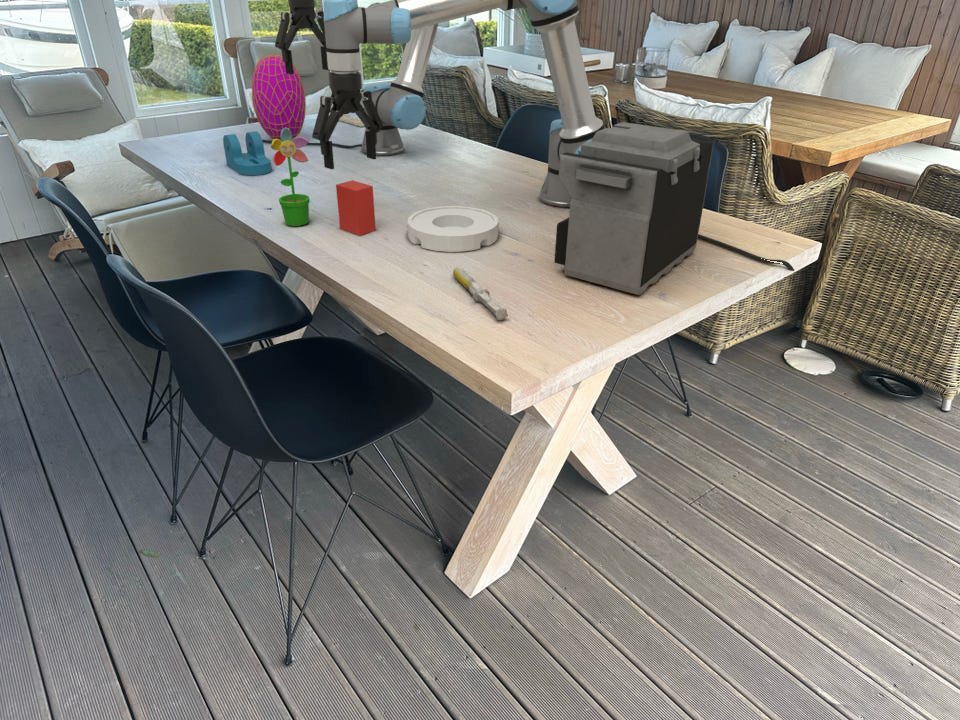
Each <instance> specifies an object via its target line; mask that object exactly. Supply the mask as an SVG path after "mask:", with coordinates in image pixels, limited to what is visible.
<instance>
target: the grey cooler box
mask: <svg viewBox="0 0 960 720" xmlns="http://www.w3.org/2000/svg"><path fill="white" fill-rule="evenodd" d="M714 145H715V141H714V140H708V139H701V138H694V137H691V136H690V133H689V131H687V130H681V129H673V128H667V127H661V126H660V127H659V126H652V125H645V124H638V123H631V122H627V121H626V122H625V121H621V122H619V123H616V124H614V125H613V126H612V127H610V128H609V127H604V129H602V130H600V131H597V132H596V134H595V135H594V137H593V138H592V140H591V141H589V142H586V143H584V144H582V145H581V154H580V155H579V154H573V153H568V152H566V153H563V154H561V155H560V165H559V178H560V180H561V181H562V183H563V185H564V186H565V188H566V190H567V191H568V193H569V195H570V196H571V198H572V199H571V202H570V207H569V211H568V212H569V213H568V217H566V218H565V219H563V220H561V221H559V222H558V223H557V224H556V231H555V247H554V263H555V264H558V265H561V266H564V270H563V271H564V274H565V275H566V276H569V277H572V278H575V279H579V280H583V281H586V282H589V283H594V284H597V285H600V286H605V287H609V288H612V289H615V290H619V291H622V292H626V293H629V294H633V295H636V296H637V295H639V296H640V295H642V294H644V293H645V292H646V290H647V289H648V287H649V286H650V285H654V284H656V283H657V282H659V279H660V278H661V276H662V275H663V276H665V275H667V274H669V273H670V272H671V270H672V269H673V267H674V266H678V265H679V264H680V263H682V262H683V260H684V258H685V257H689V256H690V255H692V254H693V252H694V251H695V249H696V247H697V243H698V239H699V238H698V234H700V233H699V231H700V226H701V221H702V216H703V209H704V206H705V205H704V204H705V198H706V193H707V187H708V178H709V174H710V173H709V172H710V167H711V162H712V156H713V150H714Z"/></svg>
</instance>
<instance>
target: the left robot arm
mask: <svg viewBox="0 0 960 720" xmlns="http://www.w3.org/2000/svg"><path fill="white" fill-rule="evenodd" d="M288 7H289V10H290V11H289V12H286V11H281V12H280V23H279V27H278V31H277V35H276V38H275V42H274V47H275V48H277V49H279V50H280V51H281V56H282V58H283V62H285V67H286V73H287V74H294V71H293V65H294V63H293V55H292V50H291V49H290V47H291V46H292V43H293V41H294V39H295V37H296V35H297V33H298V31H300V30H305V29H310V30H311V32H312V33H313V34H314V36H315V37H316V39H318V42H320V44H321V45H322V46H320V56H321V69H322V70H324V71H330V70H329V69H328V62H327V49H326V38H325V28H324V10H316V11H315V8H316V0H288ZM315 20H316V21H315ZM290 21H291V22H290ZM439 24H440V23H438V24H434V25H430V26H426V27H422V28H418V29H415V30H411V39H410V41H409V42H408V43H405V47H404V51H403V54H402V57H401V61H400V65H399V69H398V73H397V76H396V78H395V79H393V80H392V81H390V83H378V84H377V83H376V84H369V85H365V86H363V87H362V90H366V91H370V92H371V95H372V101H373V103H374V106H375V108H376V110H377V113H378V115H379V117H380V119H381V122H382V124H383V127H382V128H379V129H380V131H379V132H377V144H376V157H378V156H379V157H384V156H393V155H399V154H401V153H403V152H404V151H405V148H404V147H405V146H404V143H403V140H402V137H401V134H400V131H399V130H406V131H409V130H413V129H415V128H418V127H419V126H420V125H421V124H422V123H423V122H424V119H425V117H426V113H427V106H426V105H425V104H426V103H425V101H424V96H425V91H424V89H423V83H424V80H425V75H426V72H427V68H428V65H429V61H430V57H431V55H432V54H431V53H432V50H433V45H434V43H435V40H436V39H435V38H436V35H437V31H438V28H439ZM363 108H364V111H365V112H366V113H367V111H366V109H365V106H364V105H363ZM367 115H368V113H367ZM368 116H369V115H368ZM364 127H365V130H364V132H365V131H369V130H368V129H367V128H366V126H364ZM262 141H263V143H265V144H266V143H267V144H272V141H273V140H269V139H268V140H267V139H262ZM305 146H320V142H309V143H307V144H306V145H305ZM332 147H338V148H344V149H355V148H361V152H362V153H363V154H366V155H367V151H366V134H365V133H364V134H363V137H362V143H359V144H353V145H352V144H351V145H347V144H341V143H335V142H332Z"/></svg>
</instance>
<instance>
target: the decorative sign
mask: <svg viewBox="0 0 960 720" xmlns="http://www.w3.org/2000/svg"><path fill="white" fill-rule="evenodd" d="M338 122H344V123H348V124H350V125H353V126H356V127H360V128H361V127H363V128H364V127H365V125H364V124H363V122H362V121H361V120H360V119H359V118H357V117H351V116H350V114H343V116H342V117H341V118H340V119H339V121H338Z"/></svg>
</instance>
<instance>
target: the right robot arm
mask: <svg viewBox="0 0 960 720" xmlns="http://www.w3.org/2000/svg"><path fill="white" fill-rule="evenodd" d="M322 2H323V3H322V4H323V5H322V7H323V8H322V9H323V10H322V11H323V12H324V28H325V38H326V49H327V62H328V69H329V70H328V71H329V72H328V87H329V89H330V91H331V93H330V94H331V95H330V96H325V95H321V96H320V98H319V109H318V113H317V116H316V120H315V123H314V127H313V130H312V134H311V138H312V139H314V140H318V141H319V143H320V145H319V146H320V154H321V155H322V156H323V164H324V168H325V169H329V170H334V169H335V163H334V162H335V159H334V152H333V151H334V150H333V149H334V148H333V146H332V143H333V141H332V140H330V139H331V137H332V135H333V133H334V131H335V129H336V127H337V125H338V123H339V122H340V121H339V119H340V118H341V117H342V116H343V114H345V115H350V114H355V115H356V116H357V117H358V120H361V121H362V122H363V124H364V125H365V126H366V128H367V129H368V130H369V131H365V130H364V134H366V151H367V154H366V158H367V159H370V160H377V156H376V144H377V132H379V131H380V129H379V128H382V127H383V124H382V122H381V119H380V117H379V115H378V113H377V110H376V108H375V106H374V103H373V101H372V95H371V92H370V91H366V90H363V84H362V74H361V72H360V70H362V68H361V52H360V44H361V45H362V44H363V45H366V44H373V45H374V44H375V45H377V44H379V45H388V44H389V45H396V46H397V45H400V44H401V45H402V44H406V43H408V42H409V41H410V39H411V30H415V29H418V28H422V27H426V26H430V25H434V24H438V23H439V24H442V23H446V22H450V21H453V20H458V19H461V18H465V17H469V16H473V15H477V14H482V13H484V12H490V11H493V10H497V9H500V10H502V11H503V12H507V11H511V10H516V9H527V13H528V16H529V20H530V21H529V22H530V25H531V28H533V29H535V30H536V31H538V33H539V34H540V39H541V43H542V47H543V51H544V54H545V55H544V56H545V59H546V63H547V66H548V71H549V74H550V78H551V82H552V87H553V90H554V95H555V98H556V103H557V106H558V107H557V108H558V110H559V111H558V112H559V114H560V118H558V119H554V120H552V122H551V123H550V127H549V128H550V129H549V132H548V134H549V141H548V142H549V143H548V156H547V158H548V159H547V173H546V176H545V178H544V181H543V184H542V187H541V189H540V192H539V200H540V202H542V203H543V204H546V205H549V206H553V207H558V208H559V207H560V208H570V202H571V199H572V198H571V196H570V195H569V193H568V191H567V190H566V188H565V186H564V185H563V183H562V181H561V180H560V178H559V165H560V155H561V154H563V153H566V152H568V153H573V154H579V155H580V154H581V145H582V144H584V143H586V142H589V141H591V140H592V138H593V137H594V135H595V134H596V132H597V131H600V130H602V129H605V126H604V125H605V124H604V122H603V120H602V119H601V118H599V117H597V115H596V113H595V108H594V104H593V98H592V94H591V90H590V85H589V80H588V76H587V72H586V67H585V63H584V58H583V54H582V47H581V45H580V40H579V35H578V31H577V25H576V22H575V21H576V18H577V16H578V14H579V12H580V10H579V9H580V8H579V4H578V1H577V0H388V1H384V2H373V3H371V4H370V5H368V6H367V7H365V6H359V5H358V1H357V0H323V1H322ZM361 89H362V90H361ZM361 101H362V104H363V105H362V104H361ZM364 106H365V109H366V111H367V113H368V115H369V116H368V115H367V113H366V112H365V111H364ZM365 126H364V127H365ZM697 239H700V240H703V241H706V242H708V243H712V244H714V245H717V246H720V247H722V248H725V249H728V250H729V251H732V252H735V253H738V254H740V255H743V256H745V257H748V258H750V259H753V260H755V261H758V262H761V263H764V264H770V265H781V266H784V267H786V268H787V269H788V270H789V271H791V272H794V271H795V269H794V267H793V266H792V265H791V263H790V262H788V261H786V260H783V259H770V258H766V257H762V256H758V255H756V254H753V253H751V252H749V251H746V250H743V249H741V248H738V247H735V246H734V245H730V244H727V243H725V242H722V241H720V240H717V239H713V238H711V237H708V236H706V235H703V234H700V233H698V238H697ZM761 258H762V259H761ZM764 259H765V260H764ZM767 260H770V261H777V262H782V263H783V264H780V263H774V262H770V261H767Z"/></svg>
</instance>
